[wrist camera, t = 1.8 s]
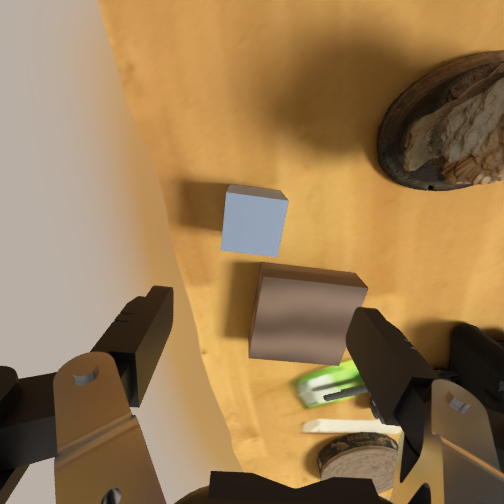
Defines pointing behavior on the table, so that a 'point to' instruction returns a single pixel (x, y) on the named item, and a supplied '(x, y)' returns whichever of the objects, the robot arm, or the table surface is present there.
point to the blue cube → (253, 220)
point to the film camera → (479, 365)
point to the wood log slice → (361, 459)
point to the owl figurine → (448, 127)
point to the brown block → (303, 313)
